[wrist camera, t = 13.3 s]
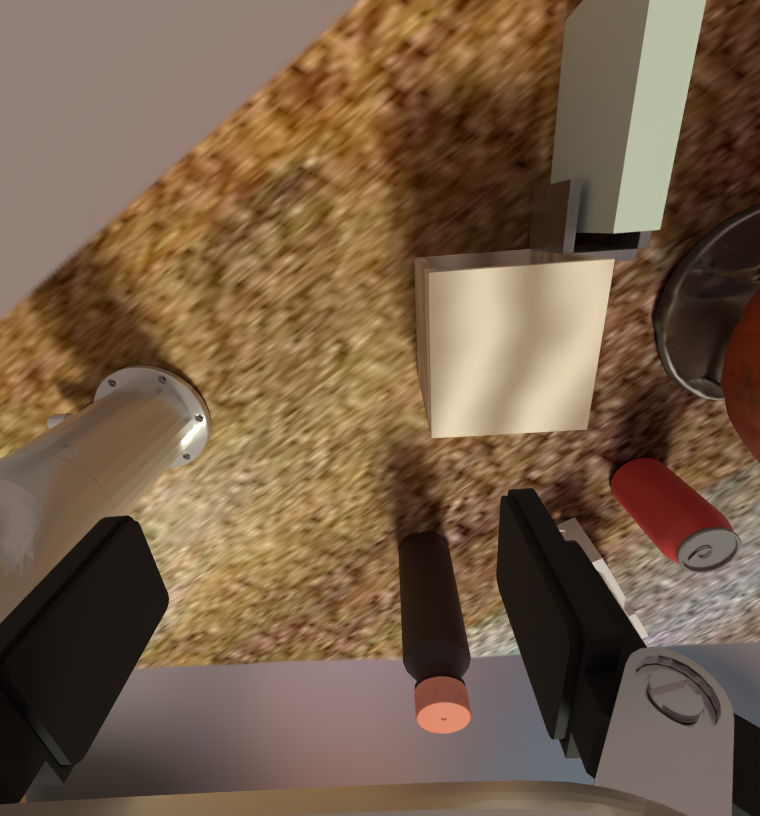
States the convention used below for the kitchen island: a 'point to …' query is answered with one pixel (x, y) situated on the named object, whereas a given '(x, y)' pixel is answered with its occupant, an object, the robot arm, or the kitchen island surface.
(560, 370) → the cabinet
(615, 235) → the hinge clips
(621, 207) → the door
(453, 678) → the bottle
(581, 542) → the bracket
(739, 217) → the pumpkin
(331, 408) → the kitchen island surface
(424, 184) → the kitchen island surface
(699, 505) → the beer can
